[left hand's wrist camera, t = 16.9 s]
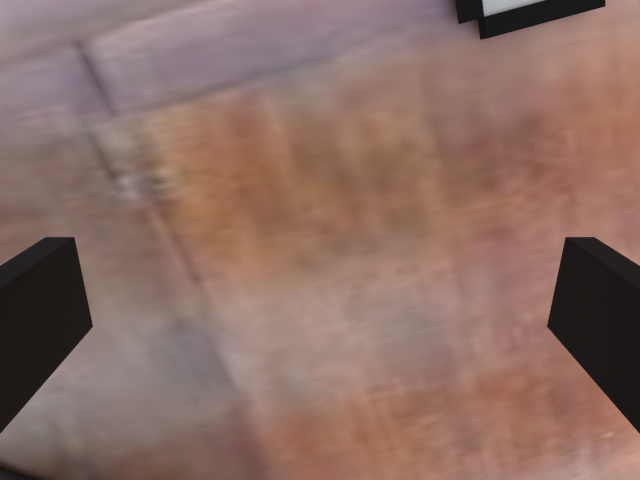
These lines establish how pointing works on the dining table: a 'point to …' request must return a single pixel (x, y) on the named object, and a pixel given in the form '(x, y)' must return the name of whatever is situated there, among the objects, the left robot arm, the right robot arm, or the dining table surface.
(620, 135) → the dining table surface
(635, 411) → the left robot arm
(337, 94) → the dining table surface
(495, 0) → the decorative sign
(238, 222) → the dining table surface
